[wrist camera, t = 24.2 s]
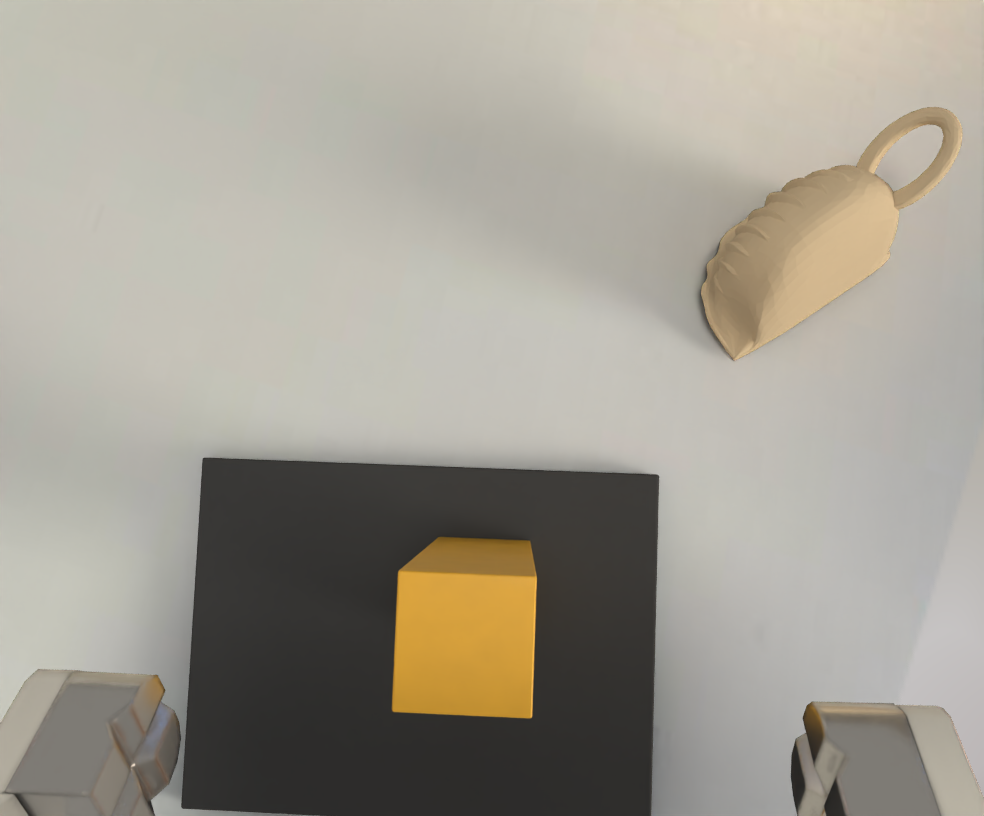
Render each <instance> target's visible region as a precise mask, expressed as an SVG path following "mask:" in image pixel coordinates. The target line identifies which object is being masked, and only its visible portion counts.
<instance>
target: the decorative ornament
mask: <svg viewBox="0 0 984 816" xmlns="http://www.w3.org/2000/svg"><path fill="white" fill-rule="evenodd" d="M927 124H930V125H937V126H939V127H941V129H942V131H943V135H944V137H943V143H942V147H941V149H940V151H939V153H938V155H937V157H936V158H935V159H934V161H933V162H932V164H931V165H930V166H929V167H928V168H927V169H926V170H925V171H924V172H923V173H922V174H921V175H920V176H919V177H918V178H917V179H916V180H914V181H913V182H911V183H910V184H908V185H907V186H905V187H903V188H901V189H899V190H897V191H894V192H893V191H892V189H891V188H890V186H889V185H888V184H887V183H886V182H885V181H883V180H882V179H881V178H879V177H878V176H877V175H875V174H874V173H875V170H876V168H877V166H878V164H879V162H880V160H881V159H882V158H883V156H884V155H885V153H886V152H887V151H888V150H889V149H890V147H891V146H892V145H893V144H894V143H895V142H897V141H898V140H899V139H900V138H901V137H902V136H904V135H905V134H907V133H908V132H910V131H911V130H913V129H916V128H918V127H920V126H923V125H927ZM961 142H962V127H961V124H960V122H959V120H958V119H957V117H956V116H955V115H954V114H953V113H952V112H950V111H949V110H947V109H943V108H939V107H927V108H923V109H919V110H916V111H913V112H911V113H909V114H907V115H905V116H903V117H901V118H899V119H898V120H896V121H895V122H893V123H892V124H890V125H889V126H888V127H886V128H885V129H884V130H883V131H882V132H881V133H879V135H878V136H877V137H876V138H875V139H874V140H873V141H872V142H871V143H870V145H869V146H868V147H867V148H866V150H865V151H864V153H863V154H862V156H861V158H860V160H859V162H858V164H857V166H856V167H855V166H851V165H840V166H835V167H832V168H830V169H828V170H819V171H815V172H812V173H811V174H809V175H807V176H806V177H805V178H797V179H794V180H791V181H790V182H788V183H787V184H786V185H785V186H784V187H783V188H782V191H781V192H773V193H770V194H769V195H768V196H767V198H766V202H765V206H764V207H762V208H759V209H756V210H753V211H752V212H751V213H750V214H749V215H748V217H747V218H746V219H745V220H744V221H742V222H740V223H739V224H737V225H736V226H734V227H732V228H731V229H730V230H729V231H728V232H727V233H726V234H725V235H724V236H723V238H722V239H721V241H720V245H719V251H718V253H717V254H716V256H715V257H714V258H713V259H711V260H710V261H709V262H708V264H707V266H706V267H707V275H708V277H707V279H706V281H705V282H704V284H703V285H702V288H701V297H702V300H703V303H704V307H705V313H706V317H707V320H708V322H709V324H710V327H711V329H712V330H713V332H714V333H715V335H716V336H717V338H718V339H719V341H720V342H721V344H722V345H723V347H724V348H725V350H726V351H727V353H728V354H729V355H730V356H731V357H732V359H733V360H734V361H735V360H737V359H739V358H741V357H743V356H745V355H747V354H749V353H750V352H752V351H754V350H756V349H758V348H759V347H761V346H763V345H764V344H766V343H768V342H770V341H771V340H773V339H775V338H776V337H778V336H779V335H781V334H783V333H784V332H786V331H788V330H789V329H791V328H792V327H794V326H795V325H797V324H798V323H800V322H801V321H803V320H804V319H806V318H807V317H809V316H810V315H812V314H813V313H815V312H816V311H818V310H819V309H821V308H822V307H824V306H825V305H826V304H828V303H829V302H831V301H832V300H834V299H835V298H837V297H838V296H840V295H841V294H843V293H844V292H846V291H847V290H849V289H850V288H852V287H853V286H855V285H856V284H858V283H859V282H861V281H862V280H864V279H865V278H866V277H868V276H869V275H871V274H872V273H873V272H875V271H876V270H877V269H879V268H880V267H881V266H883V265H884V263H885V262H886V261H887V260H888V259H889V258H890V252H889V248H890V246H891V244H892V242H893V240H894V237H895V234H896V231H897V225H898V218H899V209H902V208H904V207H907V206H909V205H911V204H913V203H914V202H916V201H918V200H919V199H921V198H922V197H923V196H925V195H926V194H927V193H928V192H930V191H931V190H932V189H933V188H934V187H935V186H936V185H937V184H938V183H939V182H940V181H941V180H942V178H943V177H944V176H945V175H946V174H947V172H948V171H949V169H950V168H951V166H952V164H953V163H954V161H955V159H956V157H957V155H958V152H959V150H960V147H961Z"/></svg>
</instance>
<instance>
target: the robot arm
mask: <svg viewBox="0 0 984 816" xmlns="http://www.w3.org/2000/svg"><path fill="white" fill-rule="evenodd" d="M164 692H165V689H164V687H163V685H162V683H161V681H160V679H159V677H158V675H147V674H126V673H106V672H85V671H78V670H50V669H38V670H37V671H36V672H35V673H33V674H32V675H31V676H30V677H29V678H28V679H27V680H26V681H25V682H24V684H23V685H22V687H21V689H20V690H19V692H18V694H17V695H16V697H15V699H14V700H13V702H12V704H11V706H10V707H9V709H8V711H7V712H6V714H5V716H4V717H3V719H2V721H1V722H0V816H155V814H154V811H153V807H152V804H151V800H152V799H153V798H154V797H155V796H156V795H157V794H158V793H159V792H161V791H162V790H163V789H164V788H165V787H166V786H167V785H168V784H169V783H170V780H171V777H172V775H173V772H174V769H175V766H176V764H177V760H178V754H179V747H180V741H181V734H180V725H179V721H178V718H177V716H176V713H175V711H174V710H172V709H171V708H169V707H168V706H167V705H165V704H164V703H162V702H161V700H162V697H163V695H164ZM803 721H804V726H805V730H806V733H805V734H803V735H801V736H800V737H798V738H797V739H796V740H795V744H794V748H793V752H792V759H791V781H792V790H793V797H794V802H795V807H796V812H797V816H984V797H983V795H982V793H981V790H980V788H979V785H978V783H977V780H976V778H975V775H974V773H973V770H972V768H971V765H970V763H969V761H968V758H967V756H966V753H965V751H964V748H963V746H962V743H961V741H960V739H959V736H958V734H957V731H956V729H955V726H954V724H953V721H952V719H951V717H950V716H949V714H948V713H947V712H946V711H945V710H944V709H943V708H941V707H938V706H922V705H895V704H894V703H853V702H811V703H810V704H808V705H807V707H806V710H805V712H804V715H803Z"/></svg>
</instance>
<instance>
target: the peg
mask: <svg viewBox="0 0 984 816" xmlns="http://www.w3.org/2000/svg"><path fill="white" fill-rule="evenodd" d="M536 589H537V576H536V571H535V565H534V560H533V554H532V549H531V543H530V541H529V540H504V539H480V538H455V537H438V538H437V539H436V540H435V541H433V542H432V543H431V544H430V545H429V546H427V547H426V548H425V549H424V550H423V551H422V552H420V553H419V554H418V555H417V556H416V557H414V558H413V559H412V560H411V561H410V562H409V563H407V564H406V565H405V566H404V567H403V568H401V569H400V570H399V571H398V582H397V604H396V626H395V649H394V671H393V693H392V711H393V712H404V713H425V714H446V715H468V716H489V717H510V718H532V708H533V678H534V648H535V618H536Z"/></svg>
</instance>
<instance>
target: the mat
mask: <svg viewBox="0 0 984 816" xmlns="http://www.w3.org/2000/svg"><path fill="white" fill-rule="evenodd" d="M658 496H659V476H658V475H650V474H624V473H597V472H570V471H543V470H517V469H490V468H463V467H436V466H410V465H383V464H356V463H330V462H303V461H276V460H249V459H223V458H203V463H202V479H201V496H200V512H199V528H198V544H197V561H196V577H195V593H194V609H193V626H192V642H191V658H190V674H189V691H188V707H187V723H186V739H185V756H184V772H183V788H182V804H181V807H182V808H183V809H202V810H222V811H241V812H261V813H281V814H300V815H320V816H651V797H652V754H653V711H654V668H655V625H656V582H657V539H658ZM438 537H455V538H480V539H504V540H529V541H530V543H531V549H532V554H533V560H534V565H535V571H536V576H537V589H536V618H535V648H534V678H533V708H532V718H510V717H489V716H468V715H446V714H425V713H404V712H393V711H392V693H393V671H394V649H395V626H396V604H397V582H398V571H399V570H400V569H401V568H403V567H404V566H405V565H406V564H407V563H409V562H410V561H411V560H412V559H413V558H414V557H416V556H417V555H418V554H419V553H420V552H422V551H423V550H424V549H425V548H426V547H427V546H429V545H430V544H431V543H432V542H433V541H435V540H436V539H437V538H438Z"/></svg>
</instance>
